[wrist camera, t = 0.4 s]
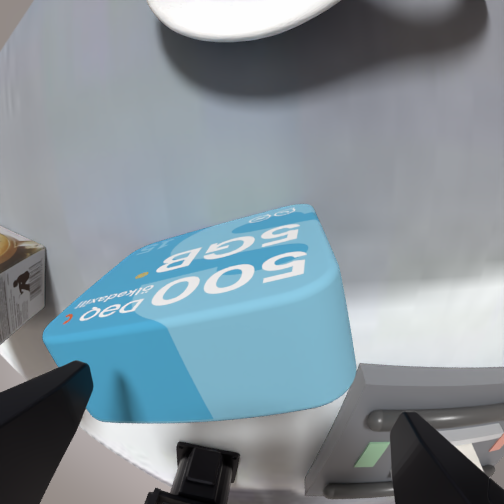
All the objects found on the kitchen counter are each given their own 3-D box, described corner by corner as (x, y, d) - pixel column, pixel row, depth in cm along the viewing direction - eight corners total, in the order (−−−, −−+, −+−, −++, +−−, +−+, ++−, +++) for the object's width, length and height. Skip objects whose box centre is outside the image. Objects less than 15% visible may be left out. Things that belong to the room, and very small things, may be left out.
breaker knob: (449, 460, 23) (462, 499, 18) (427, 463, 23) (439, 504, 18) (468, 436, 22) (486, 477, 17) (447, 439, 22) (463, 483, 17)
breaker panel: (479, 463, 28) (487, 485, 24) (304, 478, 29) (304, 508, 25) (551, 363, 22) (569, 385, 18) (360, 363, 23) (370, 401, 19)
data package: (310, 199, 19) (347, 281, 8) (326, 266, 21) (364, 400, 9) (137, 247, 21) (26, 341, 10) (160, 303, 23) (80, 422, 11)
